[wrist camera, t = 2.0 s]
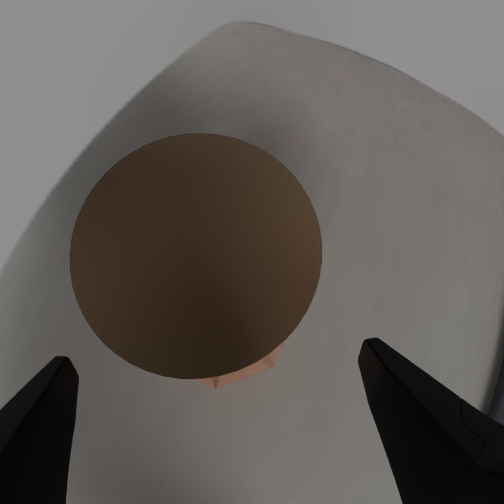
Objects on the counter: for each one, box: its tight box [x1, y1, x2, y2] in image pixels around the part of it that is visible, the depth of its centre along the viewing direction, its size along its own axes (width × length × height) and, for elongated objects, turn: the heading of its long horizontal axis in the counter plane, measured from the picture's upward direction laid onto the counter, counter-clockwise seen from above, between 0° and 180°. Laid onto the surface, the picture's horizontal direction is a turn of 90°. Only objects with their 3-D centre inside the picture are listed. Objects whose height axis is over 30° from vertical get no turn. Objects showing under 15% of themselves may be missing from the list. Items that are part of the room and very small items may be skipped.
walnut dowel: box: [70, 133, 322, 379], centre depth 12 cm, size 4×4×14 cm
